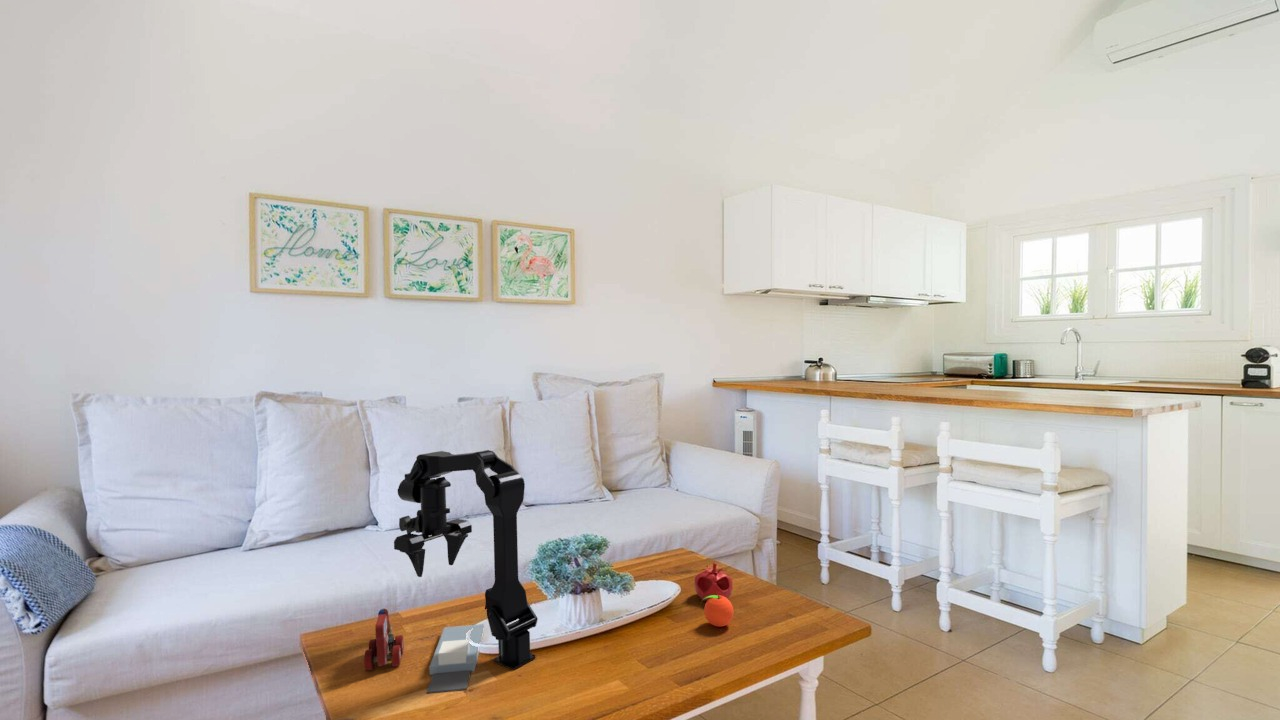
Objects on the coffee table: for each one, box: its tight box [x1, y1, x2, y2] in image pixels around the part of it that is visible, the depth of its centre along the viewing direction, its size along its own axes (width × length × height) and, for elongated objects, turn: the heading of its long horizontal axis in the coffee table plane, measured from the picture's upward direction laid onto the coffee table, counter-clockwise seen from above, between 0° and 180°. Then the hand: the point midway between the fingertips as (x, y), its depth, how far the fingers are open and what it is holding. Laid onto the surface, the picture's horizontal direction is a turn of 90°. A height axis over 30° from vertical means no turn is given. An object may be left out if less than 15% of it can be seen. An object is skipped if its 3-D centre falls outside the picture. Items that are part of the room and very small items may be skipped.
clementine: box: [701, 595, 735, 628], centre depth 150 cm, size 8×7×7 cm
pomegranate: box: [693, 562, 734, 602], centre depth 167 cm, size 10×10×9 cm
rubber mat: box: [426, 670, 472, 694], centre depth 127 cm, size 7×8×1 cm
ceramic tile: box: [438, 639, 469, 665], centre depth 133 cm, size 6×6×2 cm
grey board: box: [428, 623, 485, 676], centre depth 140 cm, size 19×9×2 cm, turn 8°
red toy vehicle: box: [363, 608, 405, 671], centre depth 136 cm, size 7×12×10 cm, turn 15°
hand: (435, 570), depth 151 cm, fingers open, 9 cm apart
